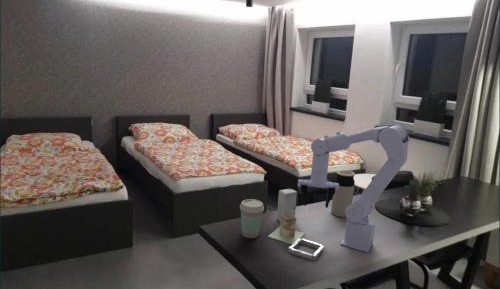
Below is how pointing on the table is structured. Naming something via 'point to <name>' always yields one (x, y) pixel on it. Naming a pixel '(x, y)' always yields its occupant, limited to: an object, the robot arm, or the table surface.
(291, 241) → the pad
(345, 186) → the travel mug
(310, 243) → the metal collar
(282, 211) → the skincare box
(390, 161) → the robot arm
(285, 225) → the maple peg
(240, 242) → the table surface
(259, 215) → the coffee cup
